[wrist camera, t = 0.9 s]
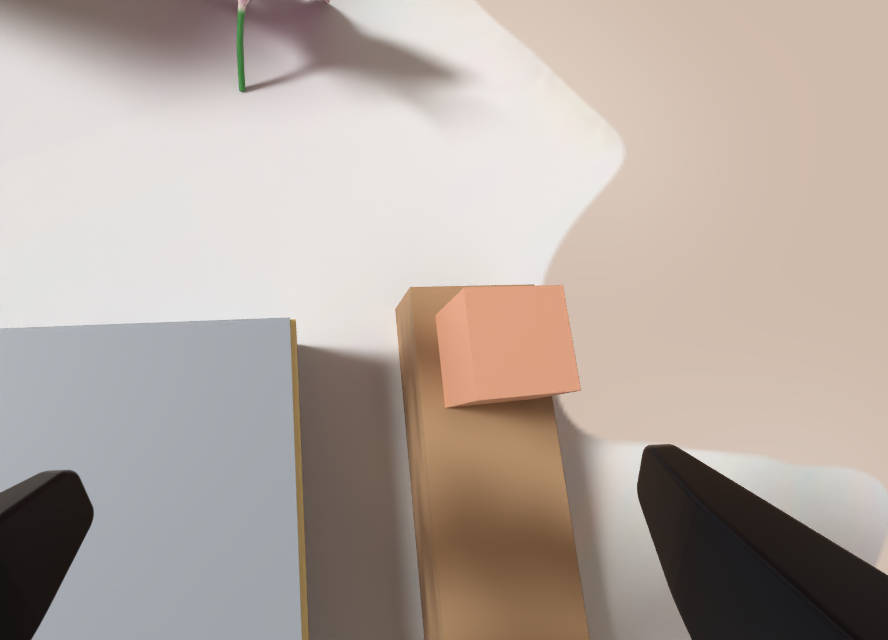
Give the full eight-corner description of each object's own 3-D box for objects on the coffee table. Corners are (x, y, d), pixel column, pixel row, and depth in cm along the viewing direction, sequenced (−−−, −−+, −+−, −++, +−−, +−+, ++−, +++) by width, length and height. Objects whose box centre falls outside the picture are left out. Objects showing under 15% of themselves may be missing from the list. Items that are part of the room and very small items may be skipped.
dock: (319, 860, 18) (323, 1009, 13) (24, 967, 15) (-102, 1202, 10) (297, 343, 22) (295, 317, 17) (65, 355, 19) (-11, 329, 15)
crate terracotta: (531, 399, 21) (580, 390, 17) (445, 407, 20) (477, 400, 16) (518, 311, 22) (562, 285, 18) (435, 315, 20) (463, 287, 17)
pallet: (570, 804, 21) (627, 882, 17) (441, 854, 19) (474, 954, 15) (501, 306, 26) (534, 284, 22) (394, 310, 24) (410, 287, 20)
